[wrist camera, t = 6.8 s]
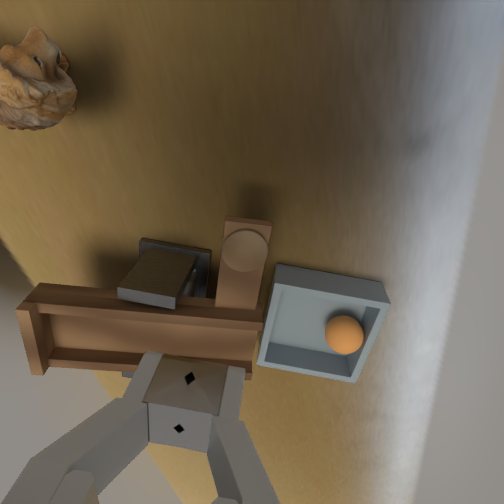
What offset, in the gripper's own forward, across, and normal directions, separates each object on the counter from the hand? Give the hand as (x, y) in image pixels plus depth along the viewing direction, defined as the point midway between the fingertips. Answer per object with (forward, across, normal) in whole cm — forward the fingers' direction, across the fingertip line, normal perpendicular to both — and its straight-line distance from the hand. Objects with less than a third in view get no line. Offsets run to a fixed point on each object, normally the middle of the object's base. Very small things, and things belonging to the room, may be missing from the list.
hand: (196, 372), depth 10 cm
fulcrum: (+17, +6, +11) cm, 21 cm away
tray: (+17, -8, +11) cm, 21 cm away
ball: (+15, -10, +11) cm, 21 cm away
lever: (+12, +6, +7) cm, 15 cm away
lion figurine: (+18, +17, -6) cm, 25 cm away
